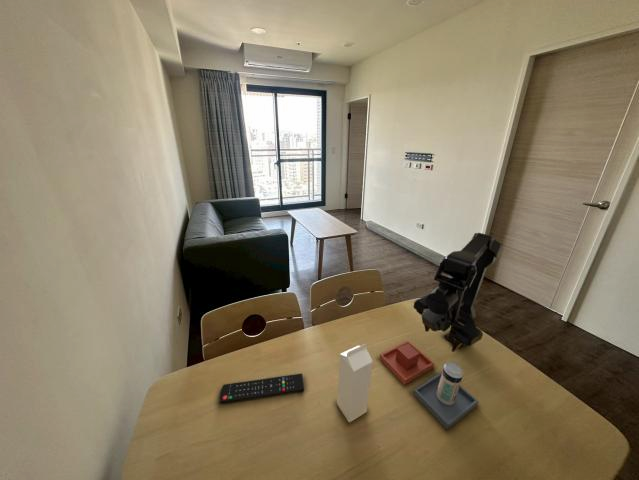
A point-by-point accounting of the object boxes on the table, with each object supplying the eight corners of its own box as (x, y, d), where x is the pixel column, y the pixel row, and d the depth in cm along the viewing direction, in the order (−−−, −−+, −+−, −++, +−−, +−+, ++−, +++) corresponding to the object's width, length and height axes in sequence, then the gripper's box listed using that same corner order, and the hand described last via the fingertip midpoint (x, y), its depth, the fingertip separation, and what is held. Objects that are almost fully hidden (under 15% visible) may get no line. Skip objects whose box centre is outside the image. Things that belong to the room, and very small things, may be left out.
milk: (366, 412, 69) (375, 352, 61) (348, 423, 66) (355, 362, 58) (353, 393, 74) (359, 335, 65) (336, 403, 71) (340, 344, 63)
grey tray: (442, 375, 80) (443, 370, 79) (476, 405, 71) (478, 401, 70) (413, 394, 74) (414, 389, 73) (447, 430, 65) (448, 425, 64)
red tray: (407, 344, 92) (407, 340, 91) (433, 367, 83) (434, 363, 82) (379, 358, 86) (380, 354, 85) (404, 385, 77) (405, 380, 76)
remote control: (304, 392, 74) (304, 388, 74) (218, 405, 70) (218, 402, 70) (302, 376, 79) (302, 373, 78) (222, 388, 75) (221, 384, 74)
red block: (405, 354, 87) (407, 343, 85) (417, 364, 83) (419, 353, 81) (395, 359, 85) (397, 348, 83) (406, 370, 81) (408, 359, 79)
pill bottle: (450, 391, 74) (459, 361, 70) (457, 407, 70) (467, 376, 66) (433, 389, 75) (441, 359, 70) (439, 405, 71) (448, 374, 66)
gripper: (404, 288, 74) (397, 330, 80) (464, 327, 59) (450, 375, 65) (429, 279, 79) (421, 319, 85) (490, 313, 64) (475, 358, 70)
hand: (439, 340), depth 76 cm, fingers open, 9 cm apart
